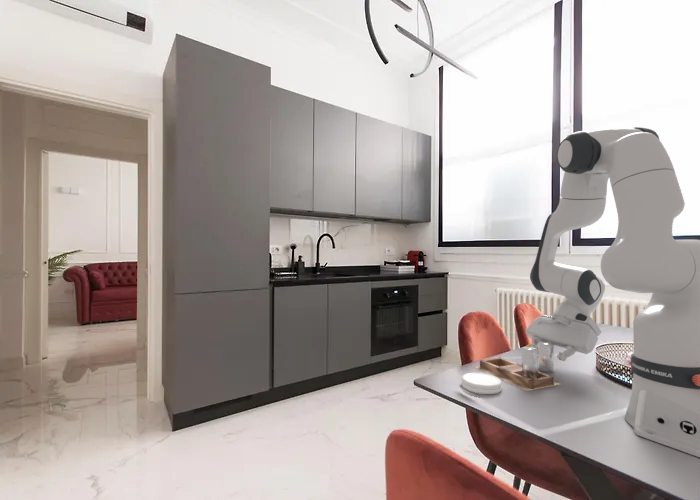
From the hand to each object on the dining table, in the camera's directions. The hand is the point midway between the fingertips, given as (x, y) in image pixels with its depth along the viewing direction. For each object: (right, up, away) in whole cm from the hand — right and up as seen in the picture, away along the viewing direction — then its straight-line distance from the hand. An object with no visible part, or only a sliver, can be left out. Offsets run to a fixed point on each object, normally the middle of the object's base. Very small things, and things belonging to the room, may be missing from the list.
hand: (546, 354), depth 106 cm
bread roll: (+7, -6, +18) cm, 20 cm away
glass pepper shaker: (0, -6, 0) cm, 6 cm away
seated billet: (-9, -5, -9) cm, 14 cm away
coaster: (-24, -6, -13) cm, 28 cm away
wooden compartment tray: (-11, -6, -4) cm, 13 cm away
